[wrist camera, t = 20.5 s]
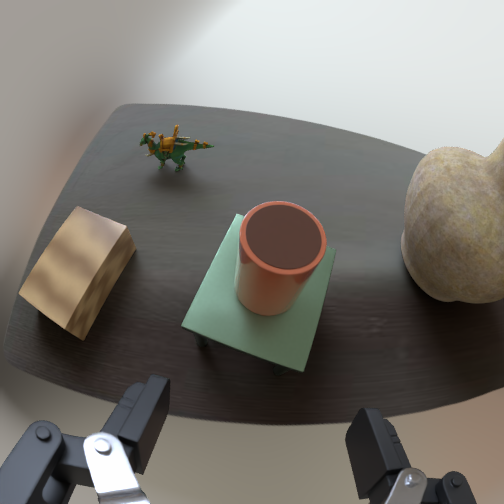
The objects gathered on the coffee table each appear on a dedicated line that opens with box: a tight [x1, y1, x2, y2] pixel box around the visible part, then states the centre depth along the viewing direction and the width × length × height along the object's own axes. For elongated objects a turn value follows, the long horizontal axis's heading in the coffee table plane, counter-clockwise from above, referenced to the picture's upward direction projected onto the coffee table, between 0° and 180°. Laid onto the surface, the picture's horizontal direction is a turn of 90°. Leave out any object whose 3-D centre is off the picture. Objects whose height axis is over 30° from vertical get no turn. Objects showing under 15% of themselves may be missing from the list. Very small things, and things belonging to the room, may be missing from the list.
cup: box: [234, 201, 327, 316], centre depth 23 cm, size 6×6×8 cm
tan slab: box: [19, 206, 136, 341], centre depth 30 cm, size 14×9×5 cm, turn 160°
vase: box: [401, 138, 504, 303], centre depth 26 cm, size 22×22×30 cm
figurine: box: [140, 125, 214, 171], centre depth 40 cm, size 3×12×8 cm, turn 86°
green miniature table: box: [181, 214, 336, 375], centre depth 29 cm, size 13×11×8 cm
